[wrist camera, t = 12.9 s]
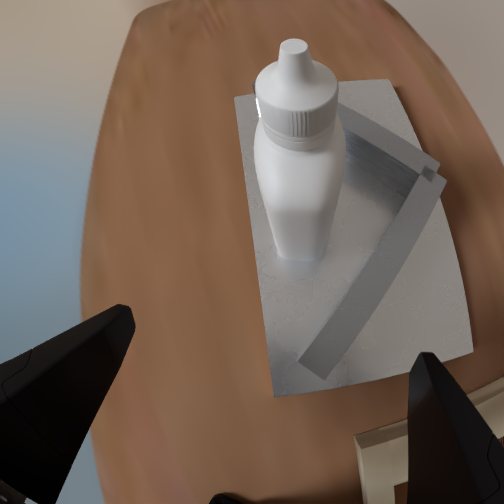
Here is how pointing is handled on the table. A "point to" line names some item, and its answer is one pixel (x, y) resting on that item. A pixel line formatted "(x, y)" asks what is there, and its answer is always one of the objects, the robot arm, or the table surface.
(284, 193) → the eye dropper bottle
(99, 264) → the table surface
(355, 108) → the silver tray
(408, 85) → the table surface
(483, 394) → the beige square frame
